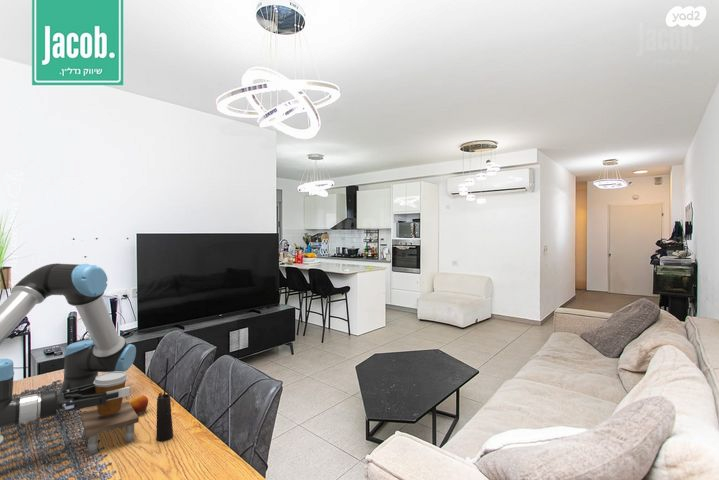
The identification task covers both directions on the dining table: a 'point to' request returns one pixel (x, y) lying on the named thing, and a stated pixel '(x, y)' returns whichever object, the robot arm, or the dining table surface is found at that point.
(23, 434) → the dining table surface
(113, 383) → the disposable coffee cup
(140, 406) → the fruit
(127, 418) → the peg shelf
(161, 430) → the butter churn
